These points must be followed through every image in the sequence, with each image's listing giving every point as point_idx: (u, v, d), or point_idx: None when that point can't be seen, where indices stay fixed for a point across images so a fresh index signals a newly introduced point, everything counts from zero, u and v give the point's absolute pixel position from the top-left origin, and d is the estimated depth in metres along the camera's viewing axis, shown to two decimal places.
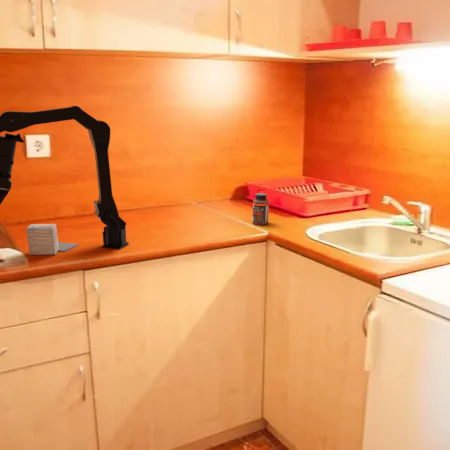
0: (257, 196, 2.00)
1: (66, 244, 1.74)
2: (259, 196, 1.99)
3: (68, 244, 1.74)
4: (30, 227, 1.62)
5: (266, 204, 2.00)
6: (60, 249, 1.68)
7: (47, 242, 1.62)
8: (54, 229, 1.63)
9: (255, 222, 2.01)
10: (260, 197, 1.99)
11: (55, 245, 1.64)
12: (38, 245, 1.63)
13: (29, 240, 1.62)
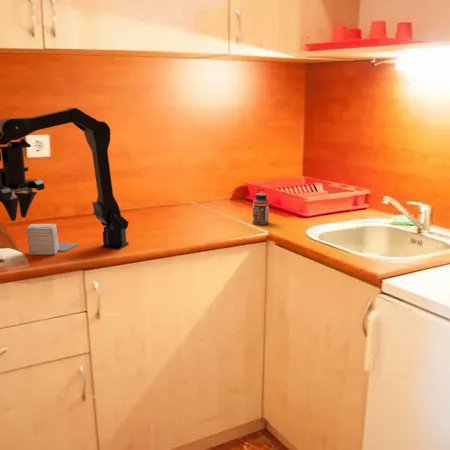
0: (257, 196, 2.00)
1: (66, 244, 1.74)
2: (259, 196, 1.99)
3: (68, 244, 1.74)
4: (30, 227, 1.62)
5: (266, 204, 2.00)
6: (60, 249, 1.68)
7: (47, 242, 1.62)
8: (54, 229, 1.63)
9: (255, 222, 2.01)
10: (260, 197, 1.99)
11: (55, 245, 1.64)
12: (38, 245, 1.63)
13: (29, 240, 1.62)
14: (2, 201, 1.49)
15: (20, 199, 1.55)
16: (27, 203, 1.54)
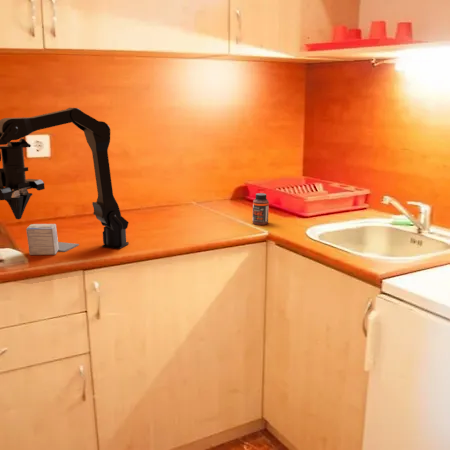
0: (257, 196, 2.00)
1: (66, 244, 1.74)
2: (259, 196, 1.99)
3: (68, 244, 1.74)
4: (30, 227, 1.62)
5: (266, 204, 2.00)
6: (60, 249, 1.68)
7: (47, 242, 1.62)
8: (54, 229, 1.63)
9: (255, 222, 2.01)
10: (260, 197, 1.99)
11: (55, 245, 1.64)
12: (38, 245, 1.63)
13: (29, 240, 1.62)
14: (7, 200, 1.50)
15: None
16: (22, 204, 1.52)
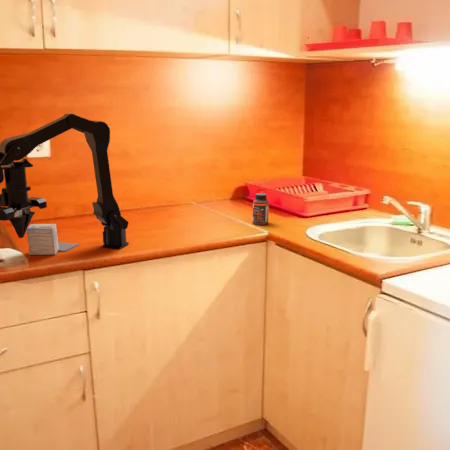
0: (257, 196, 2.00)
1: (66, 244, 1.74)
2: (259, 196, 1.99)
3: (68, 244, 1.74)
4: (30, 227, 1.62)
5: (266, 204, 2.00)
6: (60, 249, 1.68)
7: (47, 242, 1.62)
8: (54, 229, 1.63)
9: (255, 222, 2.01)
10: (260, 197, 1.99)
11: (55, 245, 1.64)
12: (38, 245, 1.63)
13: (29, 240, 1.62)
14: (10, 219, 1.52)
15: None
16: (25, 223, 1.54)
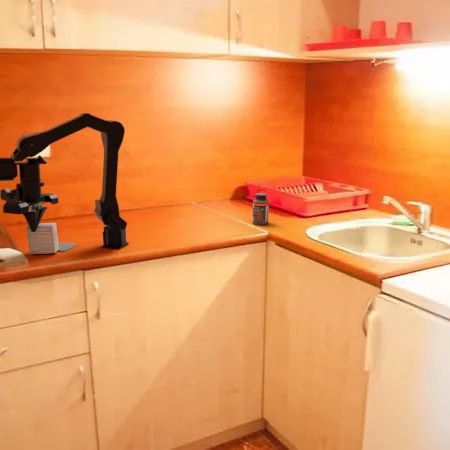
0: (257, 196, 2.00)
1: (66, 244, 1.74)
2: (259, 196, 1.99)
3: (68, 244, 1.74)
4: None
5: (266, 204, 2.00)
6: (60, 249, 1.68)
7: (47, 240, 1.63)
8: (54, 227, 1.64)
9: (255, 222, 2.01)
10: (260, 197, 1.99)
11: (55, 243, 1.64)
12: (38, 244, 1.63)
13: (29, 239, 1.62)
14: (23, 213, 1.58)
15: None
16: (38, 218, 1.60)
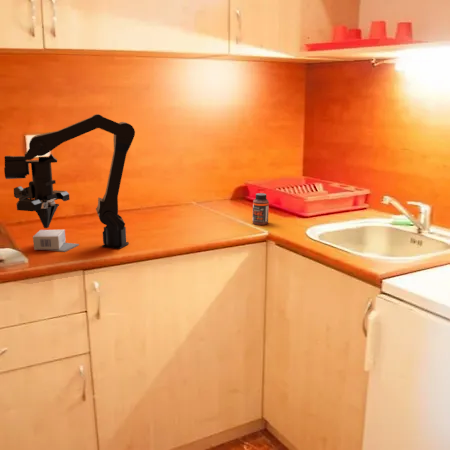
0: (257, 196, 2.00)
1: (66, 244, 1.74)
2: (259, 196, 1.99)
3: (68, 244, 1.74)
4: None
5: (266, 204, 2.00)
6: (60, 249, 1.68)
7: (55, 232, 1.71)
8: (64, 235, 1.75)
9: (255, 222, 2.01)
10: (260, 197, 1.99)
11: (60, 236, 1.70)
12: (45, 233, 1.70)
13: (39, 232, 1.71)
14: (36, 210, 1.63)
15: None
16: (50, 214, 1.65)
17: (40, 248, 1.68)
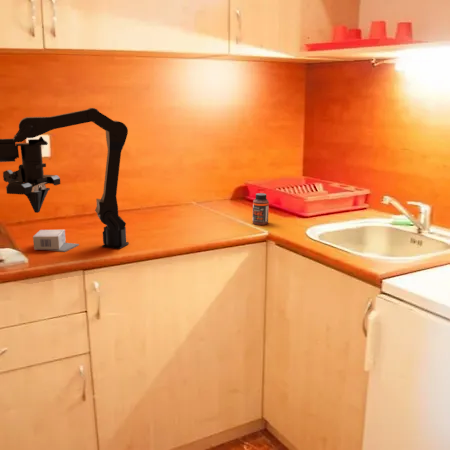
0: (257, 196, 2.00)
1: (66, 244, 1.74)
2: (259, 196, 1.99)
3: (68, 244, 1.74)
4: None
5: (266, 204, 2.00)
6: (60, 249, 1.68)
7: (55, 232, 1.71)
8: (64, 235, 1.75)
9: (255, 222, 2.01)
10: (260, 197, 1.99)
11: (60, 236, 1.70)
12: (45, 233, 1.70)
13: (39, 232, 1.71)
14: (26, 194, 1.60)
15: None
16: (41, 198, 1.62)
17: (40, 248, 1.68)
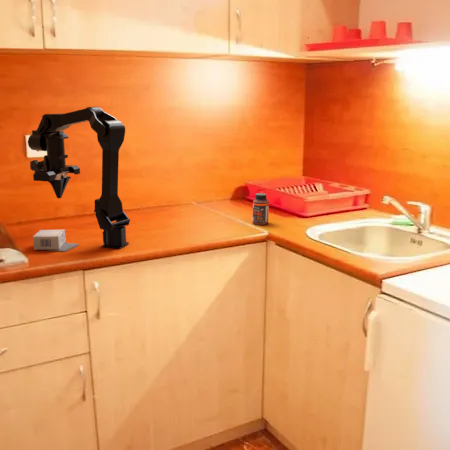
0: (257, 196, 2.00)
1: (66, 244, 1.74)
2: (259, 196, 1.99)
3: (68, 244, 1.74)
4: None
5: (266, 204, 2.00)
6: (60, 249, 1.68)
7: (55, 232, 1.71)
8: (64, 235, 1.75)
9: (255, 222, 2.01)
10: (260, 197, 1.99)
11: (60, 236, 1.70)
12: (45, 233, 1.70)
13: (39, 232, 1.71)
14: (50, 182, 1.80)
15: None
16: (63, 186, 1.82)
17: (40, 248, 1.68)
